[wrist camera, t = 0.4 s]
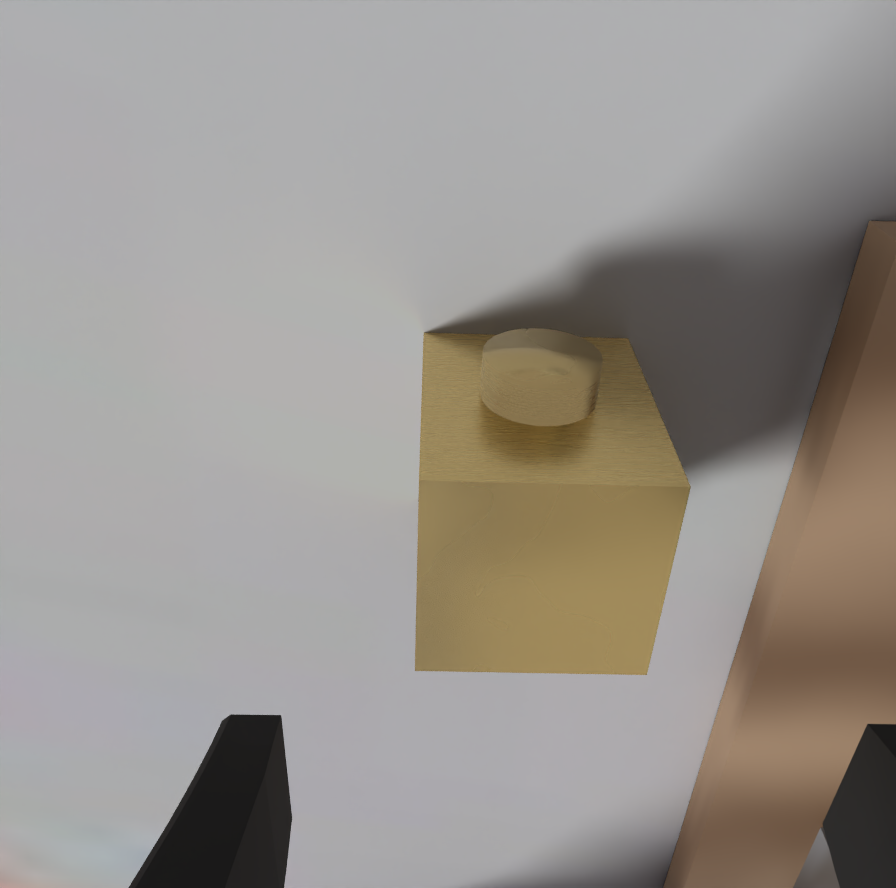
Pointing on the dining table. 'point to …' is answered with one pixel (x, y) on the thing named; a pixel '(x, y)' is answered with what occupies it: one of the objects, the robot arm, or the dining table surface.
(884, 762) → the robot arm
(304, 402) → the dining table surface
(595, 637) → the block
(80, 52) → the dining table surface
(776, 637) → the shaft stand
